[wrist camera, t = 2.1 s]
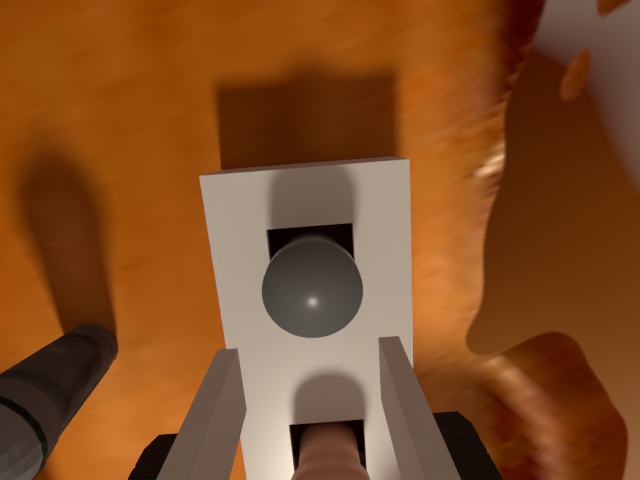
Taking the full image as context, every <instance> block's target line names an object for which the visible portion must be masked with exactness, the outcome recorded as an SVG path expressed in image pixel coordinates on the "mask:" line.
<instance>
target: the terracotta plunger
mask: <svg viewBox="0 0 640 480" xmlns="http://www.w3.org/2000/svg"><path fill="white" fill-rule="evenodd" d="M291 480H370V476H369V474H368V472H367V471H366V469H365V468H364V467H363V466H362V465H361V464H360V459H359V452H358V445H357V438H356V435H355V433H354V431H353V430H352V429H351V428H350V427H349V426H348V425H347V424H345V423H343V422H341V421H333V422H319V423H313V424H311V425H310V426H309V427H307V428H306V430H305V431H304V432H303V434H302V436H301V439H300V454H299V467H298V468H297V469H296V471H295V472H294V474H293V476H292V478H291Z"/></svg>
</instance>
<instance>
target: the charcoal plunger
mask: <svg viewBox="0 0 640 480" xmlns="http://www.w3.org/2000/svg"><path fill="white" fill-rule="evenodd" d="M362 298H363V284H362V279H361V276H360V273H359V270H358V267H357V265H356V263H355V261H354V259H353V258H352V256H351V255H350V254H349V253H348V252H347V251H346V250H345V249H344V248H343V247H341V246H340V244H339V243H338V242H337V241H336V240H335V239H334V238H332V237H331V236H329V235H327V234H325V233H322V232H316V231H310V232H304V233H301V234H299V235H297V236H295V237H293V238H292V239H291V240H290V241H289V242H288V243H287V244H286V245H285V246H284V247H282V248H281V249H280V250H279V251H278V252H277V253H276V254H275V255H274V256H273V258H272V259H271V261H270V263H269V265H268V267H267V270H266V273H265V275H264V278H263V282H262V299H263V303H264V306H265V309H266V311H267V313H268V315H269V316H270V317H271V319H272V320H273V321H274V322H275V323H276V324H277V325H278V326H279V327H280V328H282V329H283V330H285V331H287V332H289V333H291V334H293V335H296V336H299V337H304V338H320V337H325V336H329V335H332V334H334V333H336V332H338V331H340V330H341V329H343V328H344V327H346V326H347V325H348V324H349V323H350V322H351V321H352V320H353V318H354V317H355V316H356V314H357V312H358V310H359V308H360V306H361V302H362Z"/></svg>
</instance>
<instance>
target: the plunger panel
mask: <svg viewBox="0 0 640 480" xmlns="http://www.w3.org/2000/svg"><path fill="white" fill-rule="evenodd" d="M199 177H200V184H201V190H202V197H203V203H204V209H205V216H206V222H207V228H208V235H209V241H210V248H211V254H212V260H213V267H214V273H215V280H216V286H217V292H218V299H219V305H220V311H221V318H222V324H223V331H224V337H225V343H226V349H234V348H238V354H239V361H240V367H241V374H242V381H243V388H244V394H245V401H246V408H247V411H246V415H245V419H244V423H243V427H242V431H241V435H240V439H241V446H242V452H243V458H244V465H245V471H246V478H247V480H291V478H292V476H293V474H294V472H295V471H296V469H297V468H298V467H299V457H294V450H293V441H292V432H291V425H293V424H306V423H319V422H333V421H346V420H359V419H363V430H364V448H365V452H359V459H360V464H361V465H362V466H363V467H364V468H365V469H366V471H367V472H368V474H369V476H370V480H402V479H401V475H400V471H399V468H398V464H397V460H396V456H395V452H394V448H393V444H392V440H391V437H390V433H389V429H388V425H387V421H386V417H385V413H384V409H383V406H382V402H381V387H380V363H379V340H378V337H391V336H399V338H400V340H401V343H402V345H403V347H404V350H405V352H406V354H407V357H408V359H409V361H410V363H411V366H412V368H413V326H412V270H411V213H410V159H406V158H400V157H394V156H387V157H375V158H362V159H350V160H337V161H325V162H312V163H300V164H287V165H275V166H262V167H250V168H237V169H225V170H219V171H215V172H211V173H208V174H204V175H201V176H199ZM344 223H352V240H353V258H354V261H355V263H356V265H357V267H358V270H359V273H360V276H361V279H362V284H363V298H362V302H361V306H360V308H359V310H358V312H357V314H356V316H355V317H354V318H353V320H352V321H351V322H350V323H349V324H348V325H347V326H346V327H344V328H343V329H341V330H340V331H338V332H336V333H334V334H332V335H329V336H325V337H320V338H304V337H299V336H296V335H293V334H291V333H289V332H287V331H285V330H283V329H282V328H280V327H279V326H278V325H277V324H276V323H275V322H274V321H273V320H272V319H271V317H270V316H269V315H268V313H267V311H266V309H265V306H264V303H263V299H262V282H263V278H264V275H265V273H266V270H267V267H268V265H269V263H270V261H271V250H270V241H269V233H268V229H281V228H293V227H306V226H319V225H332V224H344Z"/></svg>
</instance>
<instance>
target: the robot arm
mask: <svg viewBox="0 0 640 480" xmlns="http://www.w3.org/2000/svg"><path fill="white" fill-rule="evenodd" d="M378 340H379V363H380V387H381V402H382V406H383V409H384V413H385V417H386V421H387V425H388V429H389V433H390V437H391V440H392V444H393V448H394V452H395V456H396V460H397V464H398V468H399V471H400V475H401V479H402V480H503V479H502V477H501V475H500V473H499V472H498V470H497V468H496V466H495V464H494V463H493V461H492V459H491V457H490V455H489V454H487V450H486V448H485V447H484V445H483V443H482V441H480V438H479V436H478V434H477V432H476V430H475V429H474V427H473V425H472V423H471V422H469V421H468V420H467V419H466V418H465V417H464V416H462V415H461V414H460V413H459V412H458V411H455V412H442V413H432V412H431V409H430V407H429V405H428V403H427V400H426V398H425V396H424V393H423V391H422V389H421V386H420V384H419V382H418V380H417V377H416V375H415V373H414V370H413V368H412V366H411V363H410V361H409V359H408V357H407V354H406V352H405V350H404V347H403V345H402V343H401V340H400V338H399V336H391V337H378ZM246 411H247V408H246V401H245V394H244V388H243V381H242V374H241V367H240V361H239V354H238V348H234V349H221V350H217V352H216V354H215V356H214V358H213V361H212V363H211V365H210V367H209V369H208V371H207V373H206V375H205V378H204V380H203V382H202V384H201V386H200V388H199V390H198V392H197V394H196V397H195V399H194V401H193V403H192V405H191V407H190V409H189V411H188V414H187V416H186V418H185V420H184V422H183V424H182V426H181V428H180V430H179V433H178V434H164V435H158V436H157V437H156V438H155V439H154V440H153V441H152V442H151V443H150V444H149V445H148V446H147V447H146V448H145V449H144V451H143V452H142V454H141V456H140V458H139V460H138V461H137V463H136V465H135V468H134V469H133V470H132V472H131V474H130V476H129V477H128V480H229V478H230V474H231V470H232V466H233V462H234V458H235V454H236V450H237V446H238V443H239V439H240V435H241V431H242V427H243V423H244V419H245V415H246Z"/></svg>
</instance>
